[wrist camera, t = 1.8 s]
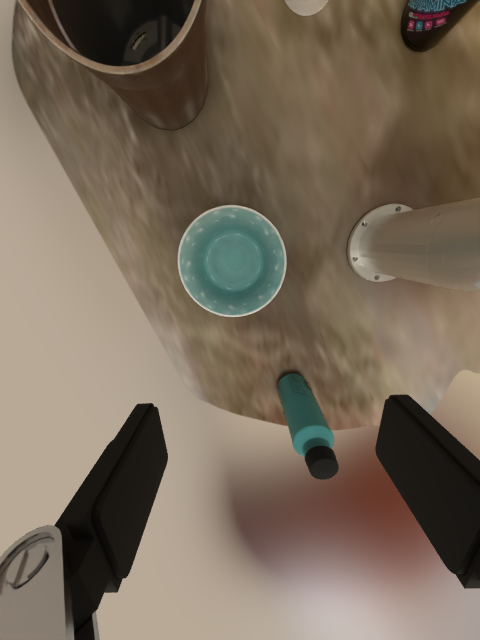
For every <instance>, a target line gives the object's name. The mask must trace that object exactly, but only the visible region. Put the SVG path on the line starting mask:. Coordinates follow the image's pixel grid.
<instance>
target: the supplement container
mask: <svg viewBox="0 0 480 640" xmlns="http://www.w3.org/2000/svg"><path fill="white" fill-rule="evenodd" d="M479 2H480V0H409V1H408V3H407V6H406V9H405V12H404V16H403V23H402V29H403V35H404V38H405V41H406V42H407V44H408V45H409V46H410V47H411V48H413V49H415V50H427V49H429V48H432V47H434V46H435V45H437V44H438V43H439V42H440V41H441V40H442V39H443V38H444V37H445V36H446V35H447V34H448V33H449V32H450V31H451V30H452V29H453V28H454V27H455V26H456V25H457V24H458V23H459V22H460V21H461V20H462V19H463V18H464V17H465V16H466V15H467V14H468V13H469V12H470V11H471V10H472V9H473V8H474V7H475V6H476V5H477V4H478V3H479Z"/></svg>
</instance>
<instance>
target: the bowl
mask: <svg viewBox="0 0 480 640" xmlns="http://www.w3.org/2000/svg"><path fill="white" fill-rule="evenodd" d="M178 270H179V275H180V278H181V281H182V283H183V286H184V288H185V289H186V291H187V292H188V294H189V295H190V296H191V298H192V299H193V300H194V301H195V302H196V303H197V304H199V305H200V306H201V307H203V308H204V309H206V310H207V311H209V312H211V313H214V314H217V315H220V316H226V317H240V316H246V315H249V314H252V313H255V312H257V311H258V310H260V309H262V308H263V307H265V306H266V305H267V304H268V303H269V302H270V301H271V300H272V299H273V298H274V297H275V296H276V294H277V293H278V291H279V290H280V288H281V286H282V283H283V280H284V277H285V273H286V251H285V247H284V243H283V241H282V238H281V236H280V234H279V232H278V231H277V229H276V228H275V227H274V225H273V224H272V223H271V222H270V221H269V220H268V219H267V218H266V217H264V216H263V215H262V214H260V213H258V212H257V211H255V210H253V209H250V208H247V207H244V206H238V205H225V206H219V207H215V208H212V209H210V210H208V211H206V212H204V213H203V214H201V215H200V216H198V217H197V218H196V219H195V220H194V221H193V222H192V223H191V224H190V225H189V227H188V228H187V230H186V231H185V233H184V235H183V237H182V239H181V242H180V245H179V250H178Z"/></svg>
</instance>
